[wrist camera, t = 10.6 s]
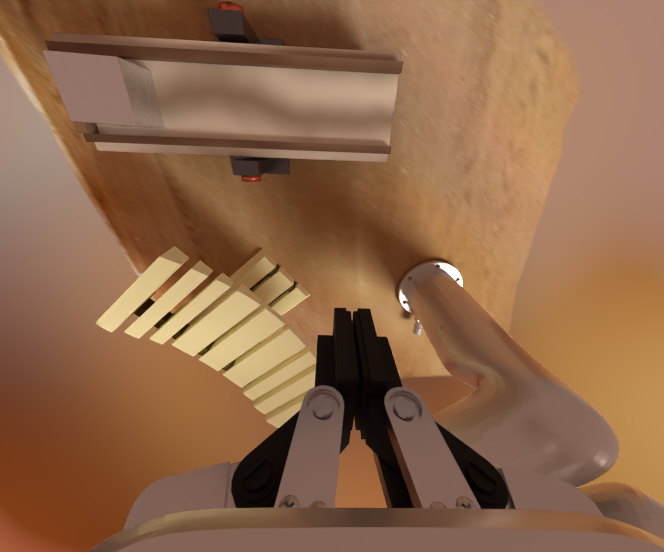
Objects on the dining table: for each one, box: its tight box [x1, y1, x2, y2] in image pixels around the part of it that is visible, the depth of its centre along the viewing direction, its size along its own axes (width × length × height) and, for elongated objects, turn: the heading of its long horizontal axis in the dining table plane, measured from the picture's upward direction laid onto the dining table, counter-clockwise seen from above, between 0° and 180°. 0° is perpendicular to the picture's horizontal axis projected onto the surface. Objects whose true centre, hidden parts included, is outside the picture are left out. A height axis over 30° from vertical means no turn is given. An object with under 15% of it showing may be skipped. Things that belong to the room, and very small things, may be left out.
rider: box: [42, 50, 165, 129], centre depth 23 cm, size 5×6×4 cm
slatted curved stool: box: [95, 246, 317, 428], centre depth 39 cm, size 30×16×18 cm, turn 39°
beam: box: [45, 32, 403, 162], centre depth 27 cm, size 10×34×6 cm, turn 88°
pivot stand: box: [208, 2, 290, 182], centre depth 29 cm, size 16×8×9 cm, turn 178°
